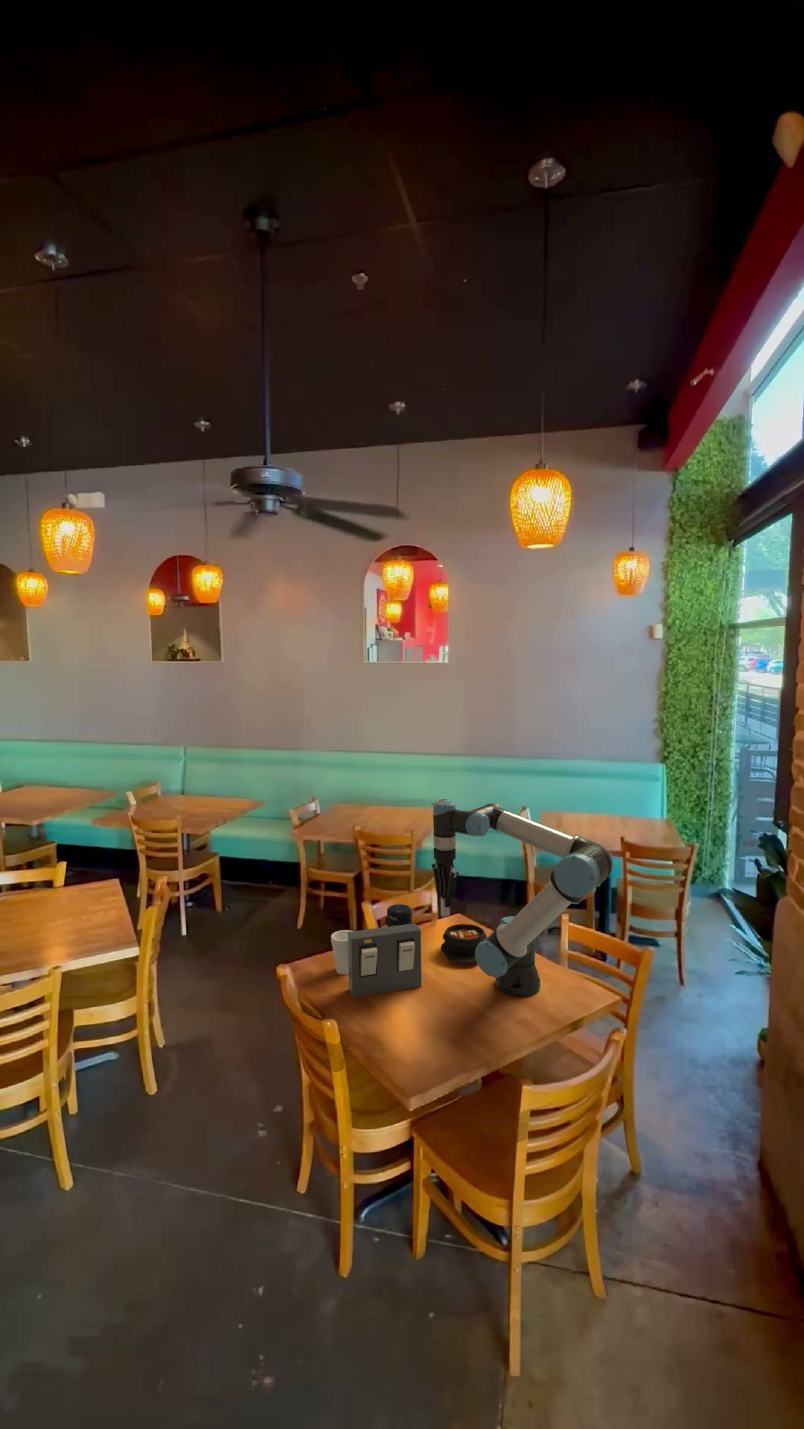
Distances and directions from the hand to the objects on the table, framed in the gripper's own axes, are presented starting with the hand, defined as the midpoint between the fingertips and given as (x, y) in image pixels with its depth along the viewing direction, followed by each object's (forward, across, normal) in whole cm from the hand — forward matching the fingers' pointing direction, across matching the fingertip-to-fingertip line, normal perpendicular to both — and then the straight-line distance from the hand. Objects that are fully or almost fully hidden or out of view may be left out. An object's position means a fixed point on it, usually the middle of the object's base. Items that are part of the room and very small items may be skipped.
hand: (445, 915), depth 218 cm
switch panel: (+24, -13, -18) cm, 33 cm away
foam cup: (+25, -28, -25) cm, 45 cm away
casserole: (+25, -16, +20) cm, 36 cm away
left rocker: (+17, -9, -26) cm, 32 cm away
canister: (+25, -31, 0) cm, 40 cm away
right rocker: (+17, -5, -13) cm, 22 cm away
